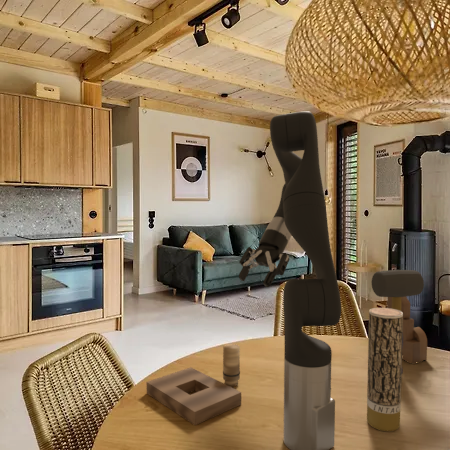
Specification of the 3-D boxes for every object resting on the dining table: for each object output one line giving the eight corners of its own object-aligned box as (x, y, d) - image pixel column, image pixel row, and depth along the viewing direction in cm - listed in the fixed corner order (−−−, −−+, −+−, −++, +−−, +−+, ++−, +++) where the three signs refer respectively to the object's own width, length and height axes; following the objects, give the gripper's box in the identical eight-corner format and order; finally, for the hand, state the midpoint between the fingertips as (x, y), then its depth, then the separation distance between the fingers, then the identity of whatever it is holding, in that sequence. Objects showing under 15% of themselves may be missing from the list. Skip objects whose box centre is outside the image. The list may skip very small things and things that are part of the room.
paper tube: (361, 417, 93) (364, 307, 92) (390, 416, 94) (393, 307, 92) (374, 433, 87) (377, 316, 85) (406, 432, 87) (409, 315, 86)
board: (241, 404, 99) (241, 392, 99) (194, 425, 90) (194, 411, 90) (190, 377, 114) (190, 367, 114) (146, 393, 105) (146, 381, 104)
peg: (243, 383, 110) (243, 347, 110) (230, 389, 107) (230, 351, 107) (231, 378, 114) (232, 342, 113) (219, 383, 111) (219, 346, 110)
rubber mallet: (406, 369, 120) (409, 267, 118) (423, 380, 113) (426, 271, 111) (367, 373, 117) (369, 268, 116) (382, 384, 110) (385, 272, 108)
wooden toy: (428, 361, 127) (430, 280, 125) (412, 364, 124) (414, 281, 122) (389, 345, 141) (391, 272, 139) (374, 347, 138) (375, 273, 136)
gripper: (252, 225, 124) (227, 270, 117) (292, 230, 115) (268, 280, 108) (262, 240, 129) (239, 284, 122) (302, 246, 119) (279, 294, 113)
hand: (253, 282), depth 115 cm, fingers open, 8 cm apart
